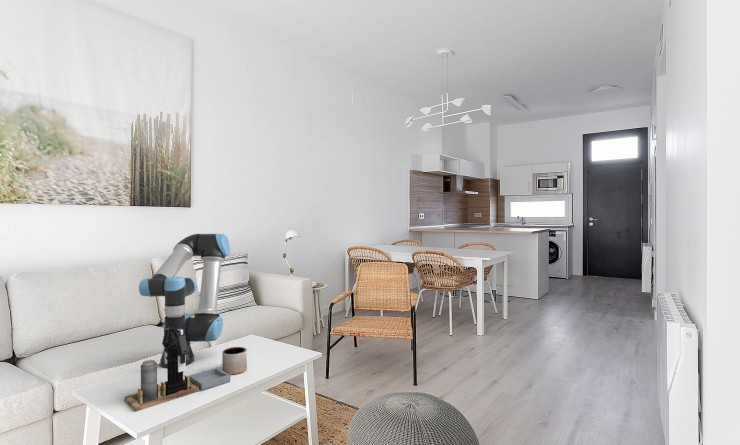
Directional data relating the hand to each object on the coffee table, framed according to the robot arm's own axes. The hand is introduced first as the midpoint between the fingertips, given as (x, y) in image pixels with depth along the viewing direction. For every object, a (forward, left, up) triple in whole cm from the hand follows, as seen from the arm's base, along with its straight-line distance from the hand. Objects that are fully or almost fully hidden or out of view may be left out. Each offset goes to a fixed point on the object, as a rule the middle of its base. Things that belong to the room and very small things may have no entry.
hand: (174, 367), depth 166 cm
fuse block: (0, -5, -10) cm, 12 cm away
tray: (+1, +14, -10) cm, 18 cm away
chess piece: (0, 0, -11) cm, 11 cm away
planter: (-3, +28, -11) cm, 30 cm away
